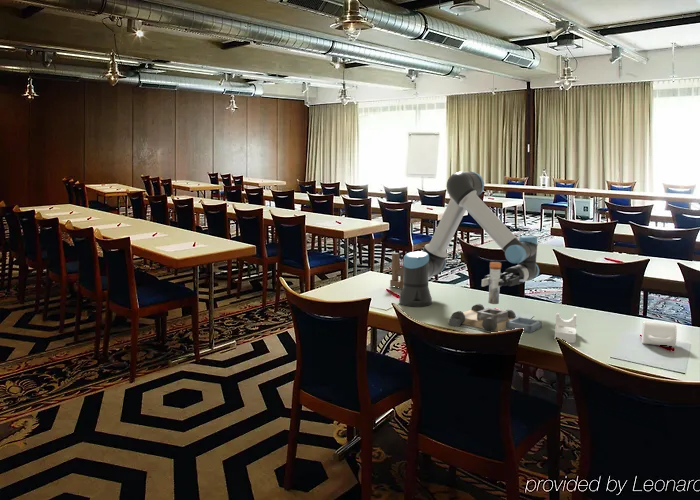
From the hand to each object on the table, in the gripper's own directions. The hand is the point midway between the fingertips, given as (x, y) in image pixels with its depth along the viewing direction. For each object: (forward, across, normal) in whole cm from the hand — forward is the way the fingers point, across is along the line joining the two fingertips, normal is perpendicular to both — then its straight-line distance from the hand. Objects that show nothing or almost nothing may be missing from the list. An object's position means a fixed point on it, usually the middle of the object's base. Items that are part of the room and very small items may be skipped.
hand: (487, 284), depth 212 cm
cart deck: (-5, +4, -18) cm, 19 cm away
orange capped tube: (-5, 0, -8) cm, 10 cm away
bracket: (-10, -28, -18) cm, 34 cm away
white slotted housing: (-21, -56, -17) cm, 62 cm away
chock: (+5, +11, -18) cm, 22 cm away
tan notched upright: (-33, +69, -19) cm, 79 cm away
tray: (-10, -11, -18) cm, 23 cm away
